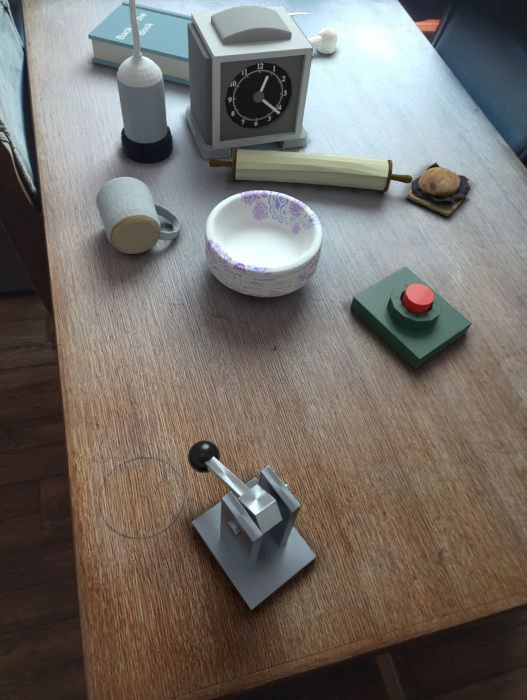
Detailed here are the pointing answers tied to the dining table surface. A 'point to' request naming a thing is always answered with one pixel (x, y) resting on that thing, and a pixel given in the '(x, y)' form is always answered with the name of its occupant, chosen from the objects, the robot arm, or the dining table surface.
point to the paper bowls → (263, 243)
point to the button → (417, 298)
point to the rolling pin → (311, 169)
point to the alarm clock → (247, 78)
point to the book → (145, 40)
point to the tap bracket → (255, 542)
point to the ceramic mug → (132, 216)
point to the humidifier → (143, 105)
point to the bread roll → (439, 189)
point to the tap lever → (236, 485)
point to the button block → (409, 318)
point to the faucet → (323, 38)
